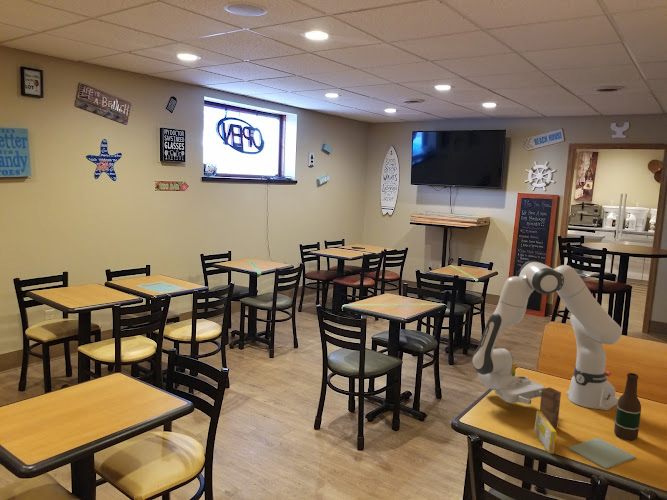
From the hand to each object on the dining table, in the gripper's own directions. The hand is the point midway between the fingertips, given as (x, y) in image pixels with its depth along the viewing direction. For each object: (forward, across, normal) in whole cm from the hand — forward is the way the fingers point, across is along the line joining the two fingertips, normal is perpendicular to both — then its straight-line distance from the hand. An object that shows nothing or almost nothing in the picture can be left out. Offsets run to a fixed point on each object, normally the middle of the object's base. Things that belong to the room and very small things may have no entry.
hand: (538, 400), depth 198 cm
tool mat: (+27, 0, +8) cm, 29 cm away
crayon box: (-33, +18, +8) cm, 38 cm away
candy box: (+13, -12, +8) cm, 20 cm away
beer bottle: (+23, +20, +8) cm, 32 cm away
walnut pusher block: (+5, 0, +8) cm, 10 cm away
